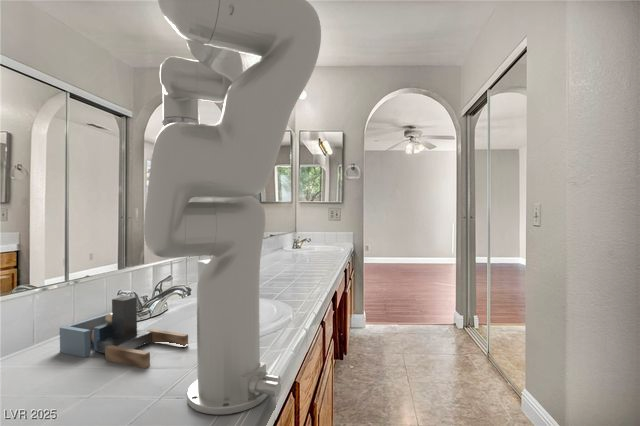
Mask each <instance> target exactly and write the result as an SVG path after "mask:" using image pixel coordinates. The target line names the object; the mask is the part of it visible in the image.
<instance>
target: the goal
mask: <svg viewBox="0 0 640 426" xmlns="http://www.w3.org/2000/svg"><path fill="white" fill-rule="evenodd" d="M110 313H112V311H110V312H108V313H104V314H100V315H97V316H94V317H90V318H87V319H83V320H81V321H77V322H74V323H70V324H67V325H64V326H59V352H60V353H62V354H63V353H64V354H68V355H73V356H78V357H80V358H81V357H83V358H86V357H88V356H89V357H90V356H91V344H92V343H94V342H93V341H92V339H91V334H92V332H93V330H94V327H97V326H100V325H103V324H106V321H105V318H106V316H107V315H108V314H110Z"/></svg>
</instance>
